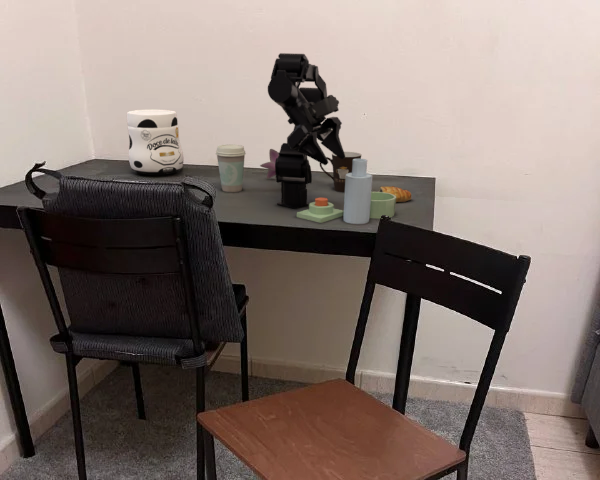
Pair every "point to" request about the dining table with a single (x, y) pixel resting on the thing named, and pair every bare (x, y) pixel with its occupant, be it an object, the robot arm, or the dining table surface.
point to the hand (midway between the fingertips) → (335, 160)
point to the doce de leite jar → (154, 142)
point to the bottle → (357, 193)
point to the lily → (271, 163)
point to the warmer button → (321, 202)
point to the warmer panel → (320, 213)
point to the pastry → (397, 193)
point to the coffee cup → (231, 166)
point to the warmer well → (382, 204)
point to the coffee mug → (341, 169)
